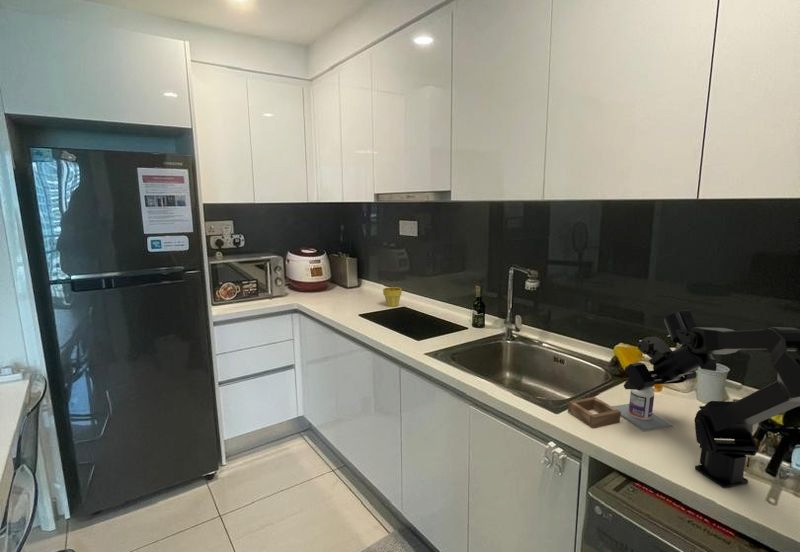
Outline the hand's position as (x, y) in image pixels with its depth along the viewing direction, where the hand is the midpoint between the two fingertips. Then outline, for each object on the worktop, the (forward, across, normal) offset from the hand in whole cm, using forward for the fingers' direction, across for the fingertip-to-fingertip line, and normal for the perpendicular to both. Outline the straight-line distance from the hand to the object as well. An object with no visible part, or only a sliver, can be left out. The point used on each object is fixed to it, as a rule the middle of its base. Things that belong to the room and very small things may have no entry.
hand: (637, 384), depth 108 cm
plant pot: (+103, +24, -91) cm, 140 cm away
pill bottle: (+5, 0, +7) cm, 8 cm away
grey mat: (+5, 0, +7) cm, 9 cm away
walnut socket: (+8, +12, +4) cm, 15 cm away
